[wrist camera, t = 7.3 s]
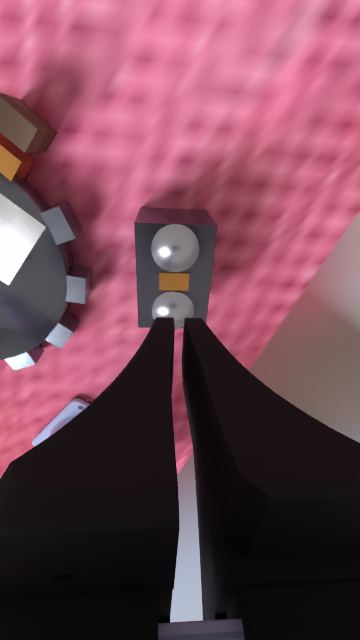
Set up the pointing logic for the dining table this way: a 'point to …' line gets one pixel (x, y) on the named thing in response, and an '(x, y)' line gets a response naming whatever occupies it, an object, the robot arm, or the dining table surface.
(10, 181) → the sprocket
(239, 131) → the dining table surface
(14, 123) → the brown rectangular block
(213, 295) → the dining table surface
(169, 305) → the gray speaker cabinet
